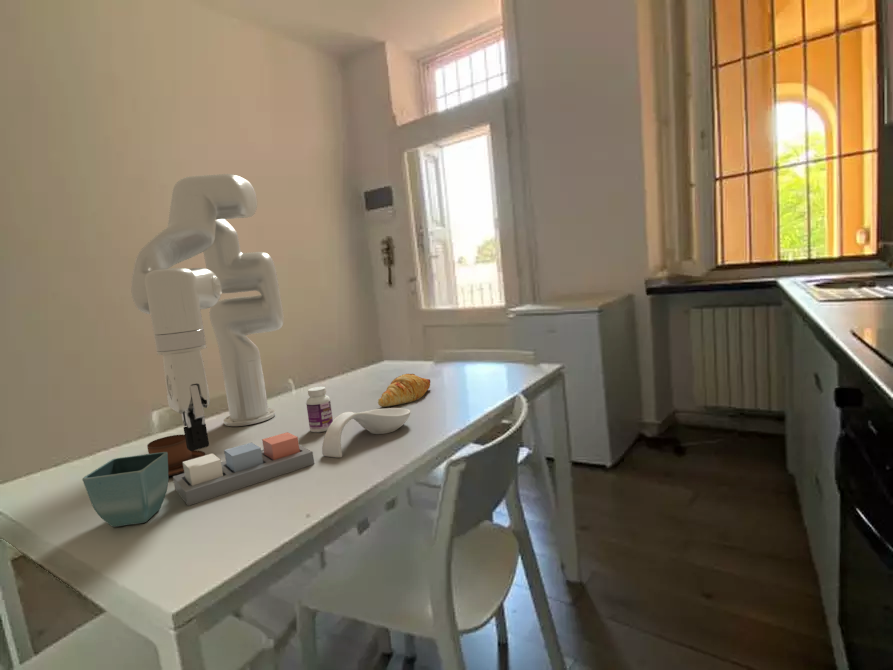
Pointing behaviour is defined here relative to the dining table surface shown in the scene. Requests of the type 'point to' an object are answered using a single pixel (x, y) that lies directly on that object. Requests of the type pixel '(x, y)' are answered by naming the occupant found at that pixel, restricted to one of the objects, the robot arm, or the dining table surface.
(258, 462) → the key blue
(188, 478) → the key white
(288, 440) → the key red
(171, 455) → the cup and saucer
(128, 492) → the flower pot
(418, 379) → the croissant
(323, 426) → the pill bottle
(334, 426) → the spoon rest
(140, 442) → the dining table surface
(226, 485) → the grey flat tray
